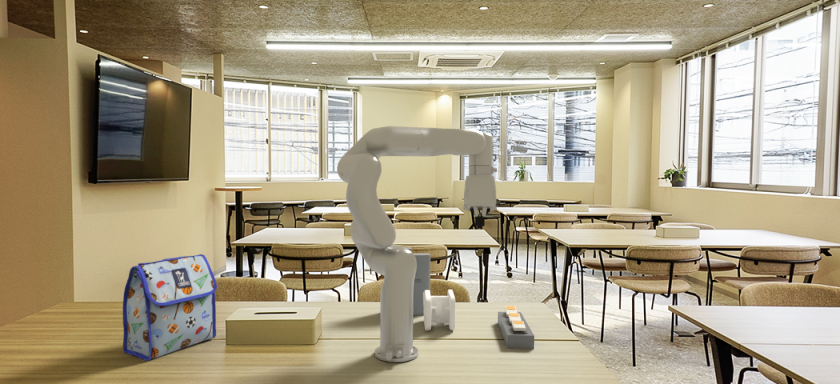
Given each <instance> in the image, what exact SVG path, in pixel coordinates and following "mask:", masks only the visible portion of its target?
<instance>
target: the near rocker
mask: <svg viewBox="0 0 840 384" xmlns="http://www.w3.org/2000/svg"><path fill="white" fill-rule="evenodd" d="M512 326H513V329H514V331H526V327H525V324H524V322H523V321H512Z"/></svg>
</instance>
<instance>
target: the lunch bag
mask: <svg viewBox="0 0 840 384" xmlns="http://www.w3.org/2000/svg"><path fill="white" fill-rule="evenodd" d="M129 269H130V270H129V273H128V278H127V280H126V283H125V286H124V291H123V297H122V299H123V300H122V326H123V337H122V338H123V339H122V350H123V353H125V354H128V355H132V356H135V357H137V358H139V359H141V360H144V361H145V362H149V361H151V360H153V359H157V358H159V357H162V356H165V355H168V354H170V353H173V352H176V351H178V350H181V349H185V348H188V347H190V346H192V345H193V346H194V345H196V344H199V343H202V342H206V341H207V340H210V339H215V338H216V336H217V313H216V311H217V308H216V306H217V305H216V291H217V288H218V284H217V280H216V278H215V274H214V273H213V270H212V268H211V265H210V264H209V261H208V259H207V257H206V256H205V254H201V253H200V254H196V255H184V256H178V257H169V258H163V259H161V260H156V261H150V262H140V263H137V265H133V266H132V267H131V268H129Z"/></svg>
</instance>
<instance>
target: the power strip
mask: <svg viewBox="0 0 840 384" xmlns="http://www.w3.org/2000/svg"><path fill="white" fill-rule="evenodd" d="M517 313H519V314H520V317H521V321H523V322H524V324H525V327H526V331H514V329H513V326H512V323H510V321H509V317H507V315H506V311H498V312H497V325H498V327H499V330H500V332H501V335H502V338H503V340H504V342H505V346H506V348H507V349H527V350H528V349H530V350H533V349H535V335H534V333H533V331H532V330H531V328H530V326H529V324H528V323H527V322H528V321H526V319H525V317H524V315H523V313H522V311H520V312H519V311H517Z"/></svg>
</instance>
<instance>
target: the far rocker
mask: <svg viewBox="0 0 840 384" xmlns="http://www.w3.org/2000/svg"><path fill="white" fill-rule="evenodd" d="M504 309H505V310H504V312H506V315H507V317H508V313H517V312H518V310H517V307H516V305H505V306H504Z"/></svg>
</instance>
